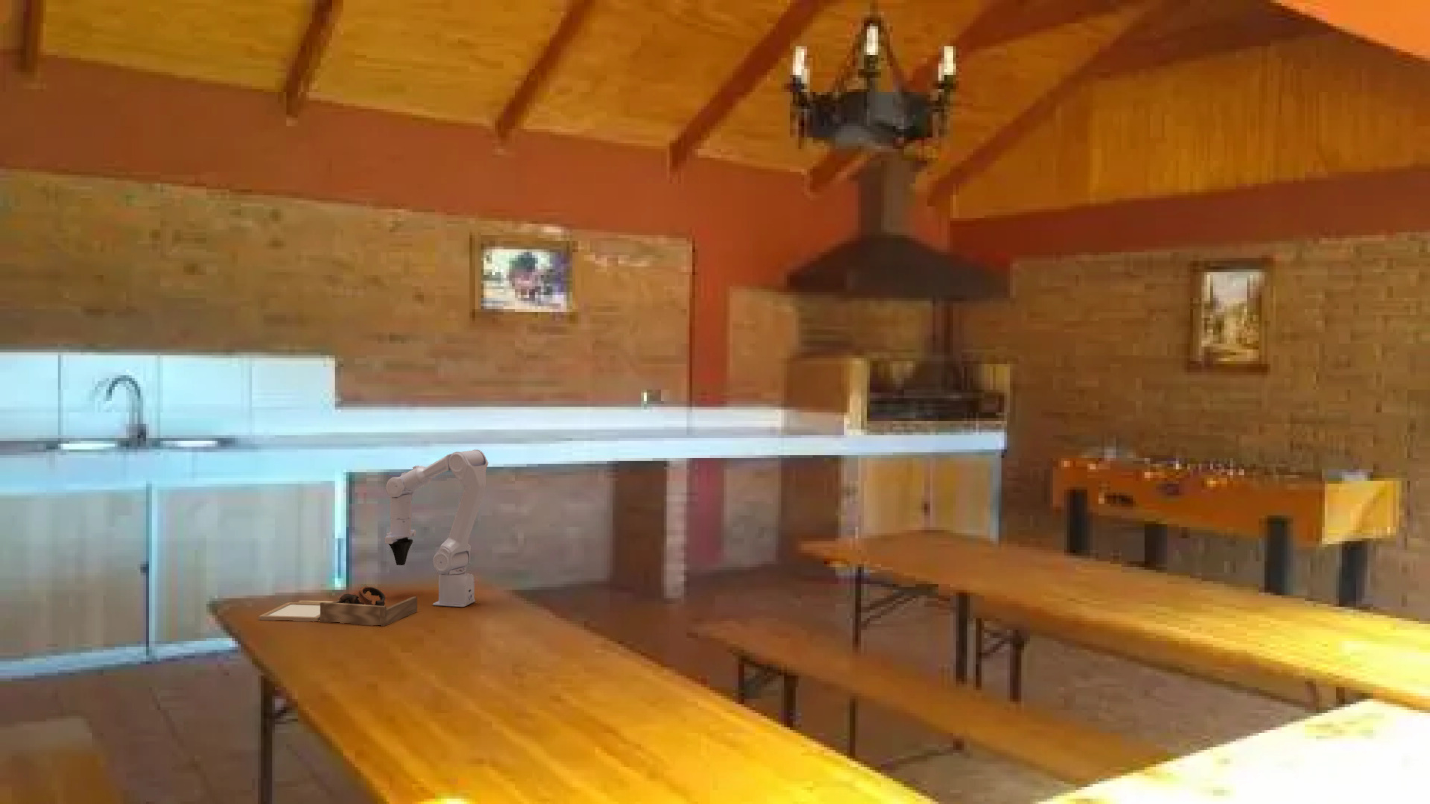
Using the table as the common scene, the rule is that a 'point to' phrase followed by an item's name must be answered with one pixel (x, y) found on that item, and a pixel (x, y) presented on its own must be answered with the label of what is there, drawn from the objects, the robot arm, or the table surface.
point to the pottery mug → (364, 597)
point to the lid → (295, 611)
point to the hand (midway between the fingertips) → (400, 564)
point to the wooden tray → (366, 612)
